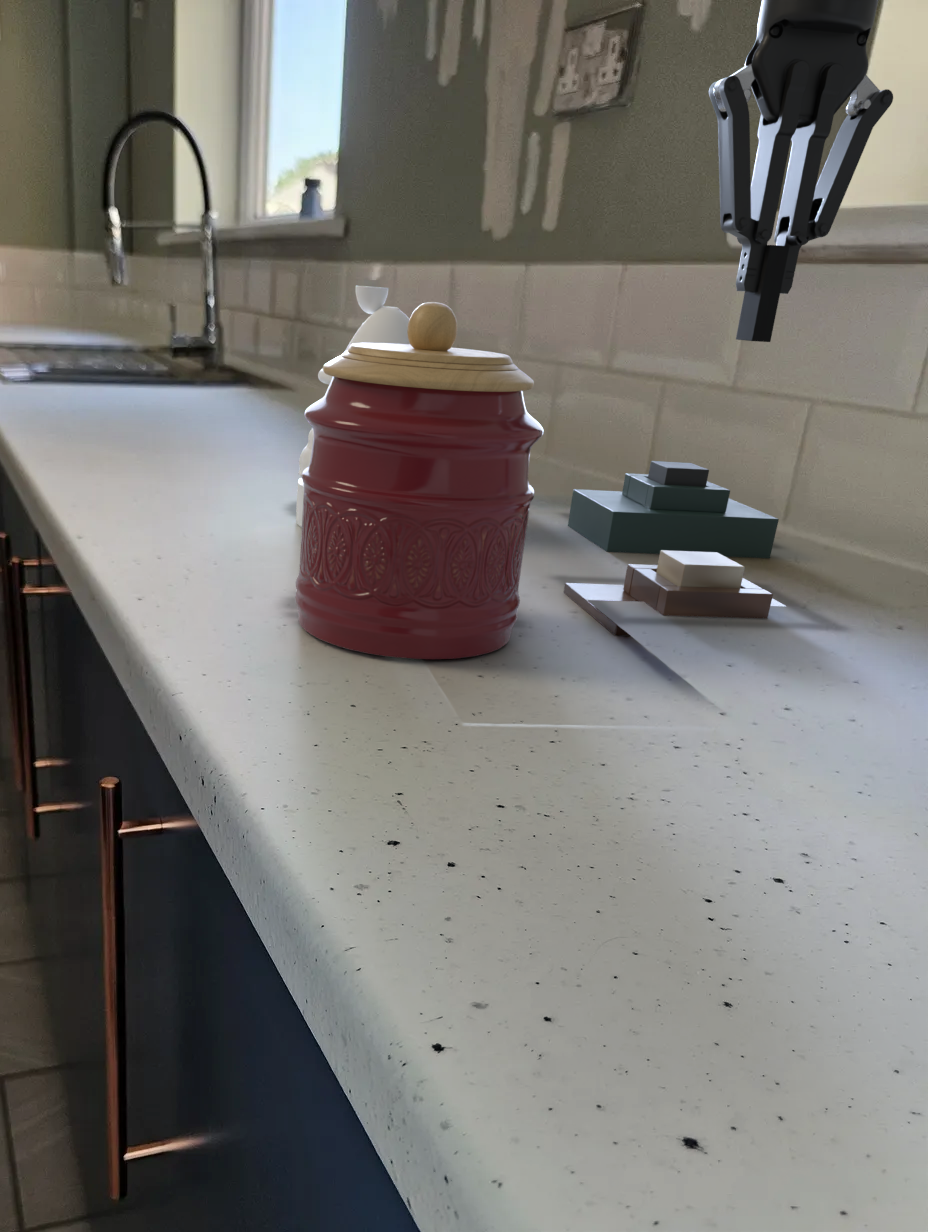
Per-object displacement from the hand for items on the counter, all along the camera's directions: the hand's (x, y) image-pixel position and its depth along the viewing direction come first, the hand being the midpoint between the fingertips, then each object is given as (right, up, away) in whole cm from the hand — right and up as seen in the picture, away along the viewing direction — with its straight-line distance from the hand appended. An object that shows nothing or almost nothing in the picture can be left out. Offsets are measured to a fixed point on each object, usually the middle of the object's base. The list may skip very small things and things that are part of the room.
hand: (752, 340), depth 86 cm
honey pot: (-29, -13, +8) cm, 32 cm away
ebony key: (-4, -9, +8) cm, 12 cm away
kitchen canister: (-28, -25, -20) cm, 43 cm away
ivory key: (-9, -21, -13) cm, 27 cm away
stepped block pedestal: (-9, -23, -13) cm, 28 cm away
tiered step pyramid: (-4, -13, +10) cm, 17 cm away
